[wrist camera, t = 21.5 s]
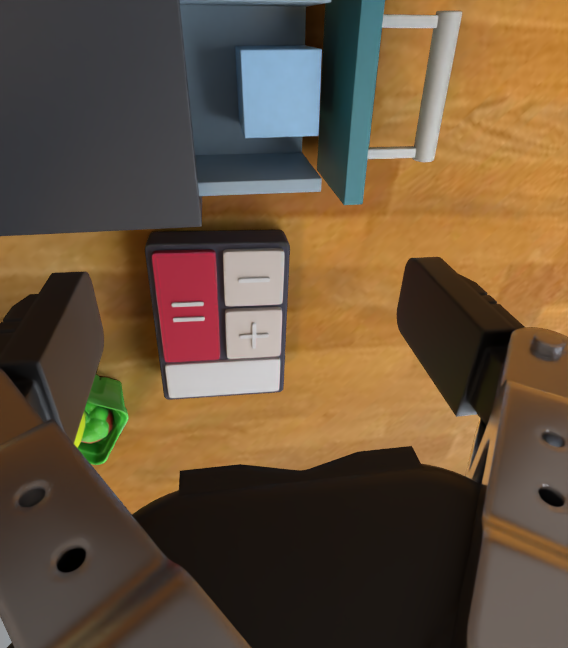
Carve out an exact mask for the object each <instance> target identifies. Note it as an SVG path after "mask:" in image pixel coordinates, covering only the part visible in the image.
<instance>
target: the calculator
mask: <svg viewBox="0 0 568 648" xmlns="http://www.w3.org/2000/svg"><path fill="white" fill-rule="evenodd" d="M145 255H146V262H147V270H148V278H149V285H150V293H151V300H152V308H153V315H154V323H155V331H156V338H157V346H158V353H159V361H160V368H161V376H162V384H163V391H164V397H165V398H166V399H185V398H200V397H215V396H230V395H244V394H259V393H274V392H281V391H282V390H283V385H284V364H285V342H286V320H287V298H288V277H289V255H290V245H289V243H288V240H287V238H286V236H285V234H284V232H283V231H282V230H236V231H163V232H151V233H150V234H149V237H148V240H147V243H146V246H145Z"/></svg>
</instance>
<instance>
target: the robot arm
mask: <svg viewBox="0 0 568 648" xmlns="http://www.w3.org/2000/svg"><path fill="white" fill-rule="evenodd" d="M397 324H398V328H399V330H400V332H401V334H402V336H403V337H404V339H405V340H406V342H407V343H408V345H409V346H410V348H411V349H412V351H413V352H414V354H415V355H416V357H417V358H418V360H419V361H420V363H421V364H422V366H423V367H424V369H425V370H426V372H427V373H428V375H429V376H430V378H431V379H432V381H433V382H434V384H435V385H436V387H437V388H438V390H439V391H440V393H441V394H442V396H443V397H444V399H445V400H446V402H447V403H448V405H449V406H450V408H451V409H452V411H453V412H454V414H455V415H456V416H466V415H476V414H478V415H479V417H480V421H479V423H478V426H477V429H476V432H475V437H474V441H473V445H472V449H471V454H470V458H469V462H468V466H467V470H466V475H465V476H463V475H461V474H458V473H456V472H453V471H450V470H447V469H444V468H440V467H436V466H431V465H425V464H421V463H420V461H419V459H418V457H417V455H416V453H415V451H414V450H413V448H412V446H408V447H399V448H389V449H380V450H370V451H361V452H356V453H353V454H350V455H348V456H345V457H342V458H339V459H336V460H333V461H331V462H328V463H325V464H322V465H319V466H316V467H313V468H311V469H307V470H301V471H299V470H288V469H279V468H269V467H260V466H250V465H241V464H240V465H230V466H221V467H212V468H202V469H193V470H183V471H180V480H179V490H178V491H175V492H173V493H170V494H167V495H165V496H163V497H161V498H159V499H157V500H154V501H153V502H151V503H149V504H148V505H146V506H144V507H142V508H141V509H139V510H138V511H137V512H135V513H134V514H131V513H130V512H129V511H128V510H127V508H126V507H125V506H124V505H123V503H122V502H121V501H120V500H119V499H118V497H117V496H116V495H115V494H114V492H113V491H112V490H111V489H110V487H109V486H108V485H107V484H106V483H105V481H104V480H103V479H102V478H101V476H100V475H99V474H98V473H97V472H96V470H95V469H94V468H93V467H92V465H91V464H90V463H89V462H88V460H87V459H86V458H85V457H84V456H83V454H82V453H81V452H80V451H79V449H78V448H77V447H76V446H75V445H74V441H75V438H76V435H77V432H78V429H79V425H80V422H81V419H82V416H83V413H84V410H85V406H86V403H87V400H88V397H89V394H90V391H91V387H92V384H93V381H94V378H95V375H96V372H97V368H98V365H99V362H100V359H101V356H102V352H103V347H104V334H103V327H102V323H101V319H100V314H99V310H98V306H97V302H96V298H95V293H94V289H93V285H92V281H91V278H90V276H89V274H88V273H87V272H66V273H52V274H51V275H50V277H49V278H48V280H47V281H46V283H45V285H44V286H43V288H42V289H41V291H40V293H39V294H31V295H29V296H27V297H26V298H24V299H23V300H21V301H20V302H18V303H17V304H15V305H14V306H12V308H11V309H10V310H9V312H8V313H7V315H6V316H5V318H4V319H3V322H1V323H0V617H1V619H2V621H3V623H4V626H5V628H6V630H7V632H8V635H9V636H10V639H11V641H12V643H11V644H10V645H9V646H8V647H7V648H568V337H567V336H565V335H562V334H560V333H557V332H555V331H551V330H548V329H543V328H536V327H524V326H523V325H522V324H521V323H520V322H519V321H518V320H516V319H515V318H514V317H513V316H512V315H511V314H510V313H509V312H508V311H506V310H505V309H504V308H503V307H502V306H501V305H500V304H497V301H495V300H494V299H493V298H492V297H491V296H490V295H487V292H486V291H484V290H483V289H482V288H481V287H480V286H479V285H478V284H477V283H475V282H474V281H472V280H470V279H468V278H466V277H464V276H462V275H460V274H458V273H456V272H455V271H454V270H453V269H452V268H451V267H450V266H449V265H448V264H447V263H446V262H445V261H444V260H443V259H441V258H440V257H424V258H410V259H409V260H408V262H407V264H406V266H405V271H404V276H403V281H402V287H401V292H400V297H399V302H398V307H397Z"/></svg>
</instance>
